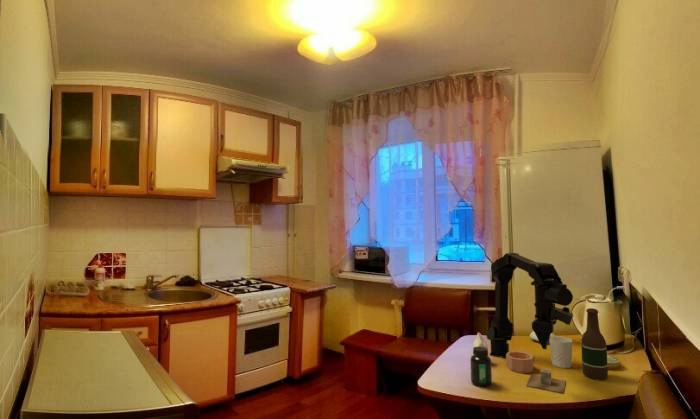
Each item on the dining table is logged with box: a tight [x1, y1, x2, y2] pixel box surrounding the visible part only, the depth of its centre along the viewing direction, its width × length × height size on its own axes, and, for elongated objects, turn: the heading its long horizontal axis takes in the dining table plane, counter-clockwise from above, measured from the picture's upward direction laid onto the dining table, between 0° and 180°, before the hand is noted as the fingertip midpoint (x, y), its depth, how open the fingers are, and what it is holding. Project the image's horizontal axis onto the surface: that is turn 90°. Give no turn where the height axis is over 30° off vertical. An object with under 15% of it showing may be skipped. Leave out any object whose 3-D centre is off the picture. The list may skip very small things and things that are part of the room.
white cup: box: [548, 335, 573, 369], centre depth 146 cm, size 8×8×10 cm
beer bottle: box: [580, 307, 609, 381], centre depth 136 cm, size 8×8×24 cm
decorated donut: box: [607, 353, 622, 371], centre depth 145 cm, size 10×11×4 cm
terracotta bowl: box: [505, 350, 535, 374], centre depth 144 cm, size 9×9×5 cm
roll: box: [472, 332, 489, 350], centre depth 150 cm, size 6×12×6 cm
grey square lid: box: [525, 368, 567, 395], centre depth 130 cm, size 11×11×5 cm
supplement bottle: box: [470, 347, 493, 388], centre depth 131 cm, size 7×7×12 cm
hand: (545, 345), depth 130 cm, fingers open, 9 cm apart
